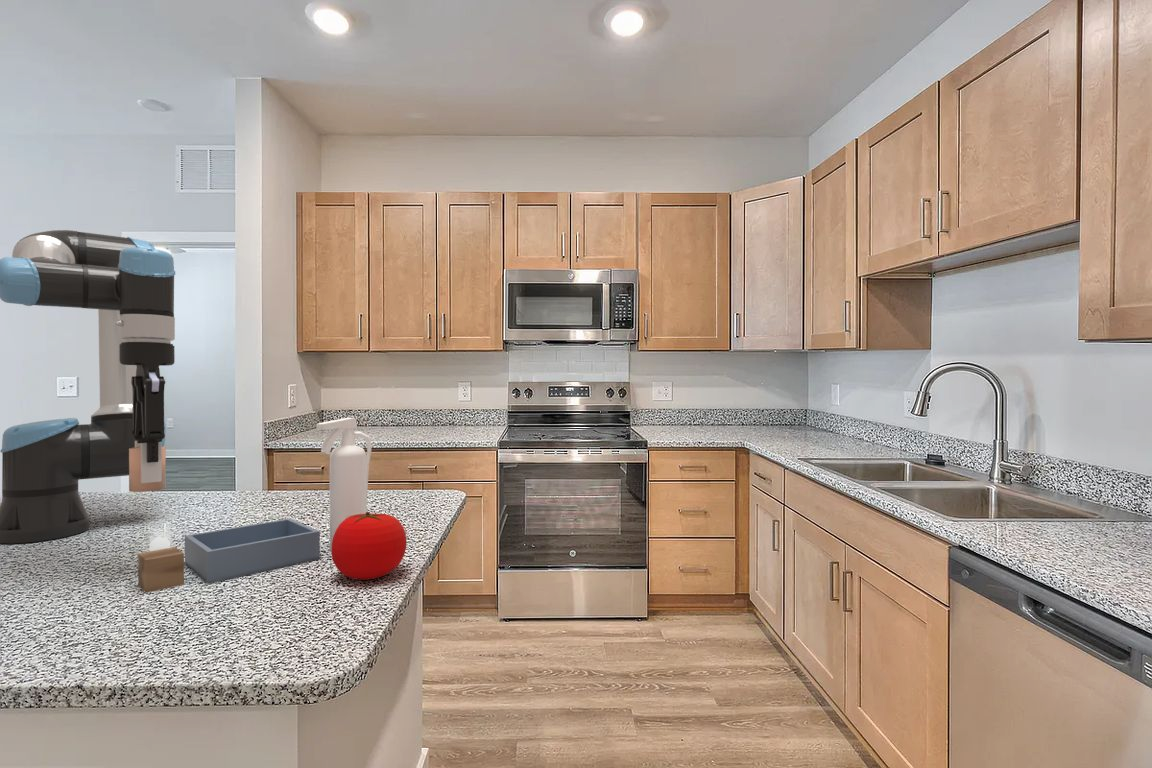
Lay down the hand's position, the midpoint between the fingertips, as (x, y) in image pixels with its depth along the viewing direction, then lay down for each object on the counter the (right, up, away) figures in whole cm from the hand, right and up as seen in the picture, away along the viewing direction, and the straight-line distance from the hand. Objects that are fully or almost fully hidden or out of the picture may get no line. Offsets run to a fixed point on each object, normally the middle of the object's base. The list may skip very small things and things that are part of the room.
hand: (148, 479), depth 100 cm
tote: (+15, -15, +5) cm, 22 cm away
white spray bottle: (+29, -15, +14) cm, 36 cm away
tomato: (+38, -16, -2) cm, 41 cm away
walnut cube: (+7, -15, -7) cm, 18 cm away
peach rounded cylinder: (0, -2, 0) cm, 2 cm away
